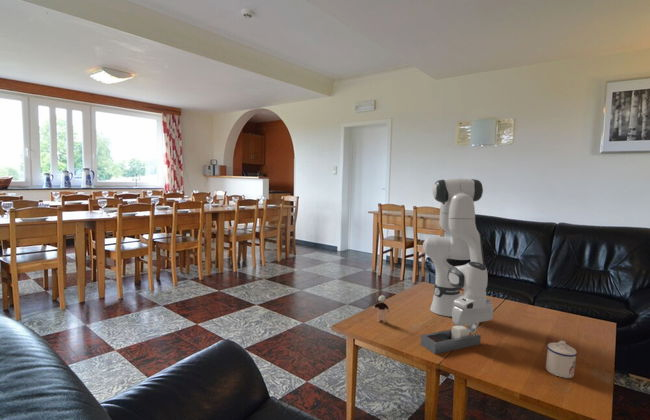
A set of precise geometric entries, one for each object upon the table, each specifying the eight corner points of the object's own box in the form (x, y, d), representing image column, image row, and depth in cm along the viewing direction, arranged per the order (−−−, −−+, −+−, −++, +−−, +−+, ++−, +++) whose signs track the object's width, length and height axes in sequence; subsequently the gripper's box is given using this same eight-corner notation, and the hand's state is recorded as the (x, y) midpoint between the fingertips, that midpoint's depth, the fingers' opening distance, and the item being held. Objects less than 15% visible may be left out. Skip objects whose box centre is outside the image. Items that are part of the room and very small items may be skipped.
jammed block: (459, 336, 156) (460, 325, 155) (468, 341, 151) (469, 329, 151) (450, 337, 154) (451, 326, 153) (459, 343, 149) (460, 331, 149)
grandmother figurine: (388, 320, 173) (389, 294, 172) (389, 323, 169) (390, 297, 168) (372, 319, 174) (373, 293, 173) (372, 322, 170) (374, 296, 169)
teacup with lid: (575, 381, 126) (579, 349, 124) (545, 373, 130) (548, 343, 129) (572, 366, 136) (575, 337, 135) (544, 359, 140) (547, 331, 139)
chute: (464, 335, 159) (464, 326, 159) (480, 344, 151) (480, 335, 151) (420, 344, 150) (421, 335, 149) (434, 354, 142) (435, 344, 141)
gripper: (486, 295, 161) (483, 325, 162) (450, 301, 152) (448, 332, 153) (498, 300, 155) (495, 331, 156) (462, 306, 146) (459, 338, 148)
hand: (471, 332), depth 155 cm, fingers closed
